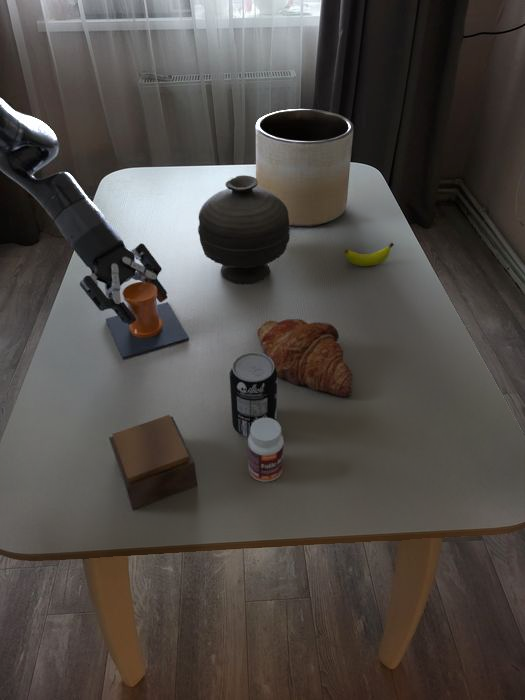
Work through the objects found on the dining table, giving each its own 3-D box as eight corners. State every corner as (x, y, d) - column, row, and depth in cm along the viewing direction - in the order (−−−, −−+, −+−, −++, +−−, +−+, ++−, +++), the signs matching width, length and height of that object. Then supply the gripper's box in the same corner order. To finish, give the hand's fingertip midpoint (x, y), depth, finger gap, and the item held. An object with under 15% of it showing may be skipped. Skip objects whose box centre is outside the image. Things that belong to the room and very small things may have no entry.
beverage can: (257, 402, 87) (256, 343, 79) (285, 427, 83) (287, 368, 75) (223, 422, 84) (219, 363, 76) (251, 449, 80) (249, 390, 72)
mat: (122, 359, 94) (122, 357, 94) (105, 320, 103) (105, 318, 102) (189, 340, 98) (189, 337, 98) (168, 303, 107) (167, 301, 106)
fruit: (388, 260, 118) (392, 240, 115) (391, 266, 116) (395, 245, 113) (341, 264, 117) (344, 243, 114) (344, 269, 116) (346, 248, 112)
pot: (185, 286, 110) (181, 187, 98) (217, 249, 124) (217, 158, 112) (271, 304, 106) (278, 203, 94) (295, 263, 120) (303, 171, 108)
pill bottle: (263, 489, 75) (263, 449, 69) (241, 466, 77) (239, 426, 72) (289, 470, 77) (291, 430, 71) (267, 449, 80) (267, 409, 74)
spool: (147, 342, 97) (140, 305, 92) (123, 330, 100) (115, 293, 94) (169, 325, 101) (164, 288, 96) (145, 314, 103) (139, 278, 98)
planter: (271, 183, 147) (271, 104, 134) (353, 194, 142) (362, 113, 129) (243, 221, 131) (240, 136, 118) (335, 236, 126) (343, 148, 113)
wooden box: (132, 510, 72) (124, 483, 68) (115, 460, 78) (107, 432, 74) (197, 485, 75) (193, 457, 71) (176, 439, 81) (171, 411, 77)
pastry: (244, 390, 89) (243, 352, 84) (258, 330, 100) (258, 294, 95) (350, 401, 87) (356, 363, 82) (352, 338, 98) (357, 302, 93)
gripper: (62, 241, 87) (128, 325, 89) (128, 206, 96) (186, 284, 98) (48, 260, 92) (110, 339, 95) (111, 225, 101) (167, 298, 104)
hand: (149, 310), depth 97 cm, fingers open, 7 cm apart
